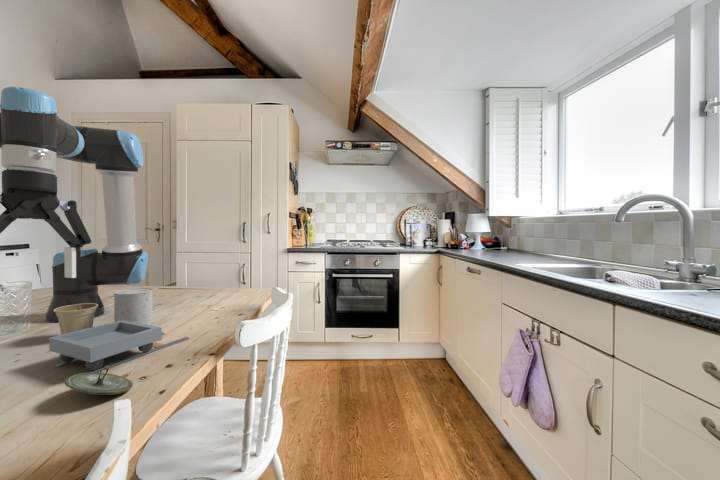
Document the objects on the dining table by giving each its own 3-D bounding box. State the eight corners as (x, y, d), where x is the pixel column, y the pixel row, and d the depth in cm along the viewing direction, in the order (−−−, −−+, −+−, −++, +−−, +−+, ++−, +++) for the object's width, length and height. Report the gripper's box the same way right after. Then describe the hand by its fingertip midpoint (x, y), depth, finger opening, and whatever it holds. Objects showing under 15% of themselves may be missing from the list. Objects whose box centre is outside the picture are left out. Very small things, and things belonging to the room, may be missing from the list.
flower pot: (51, 345, 83) (51, 313, 82) (55, 336, 90) (55, 306, 90) (98, 338, 89) (97, 308, 88) (98, 329, 96) (98, 301, 96)
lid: (62, 392, 60) (62, 367, 59) (126, 375, 67) (126, 352, 67) (66, 416, 52) (66, 386, 52) (138, 394, 60) (137, 368, 59)
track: (54, 366, 70) (54, 365, 70) (161, 333, 93) (161, 332, 93) (84, 376, 66) (84, 374, 66) (188, 338, 89) (188, 337, 89)
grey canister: (133, 337, 90) (132, 295, 89) (105, 335, 91) (105, 293, 91) (160, 327, 99) (160, 289, 98) (135, 325, 101) (135, 287, 100)
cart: (49, 362, 71) (49, 337, 71) (122, 341, 85) (122, 320, 85) (90, 375, 65) (90, 348, 65) (161, 350, 80) (161, 327, 79)
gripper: (-60, 156, 49) (-58, 294, 50) (110, 180, 71) (111, 275, 72) (-80, 159, 52) (-77, 290, 52) (90, 181, 74) (91, 273, 75)
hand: (31, 281), depth 62 cm, fingers open, 12 cm apart
